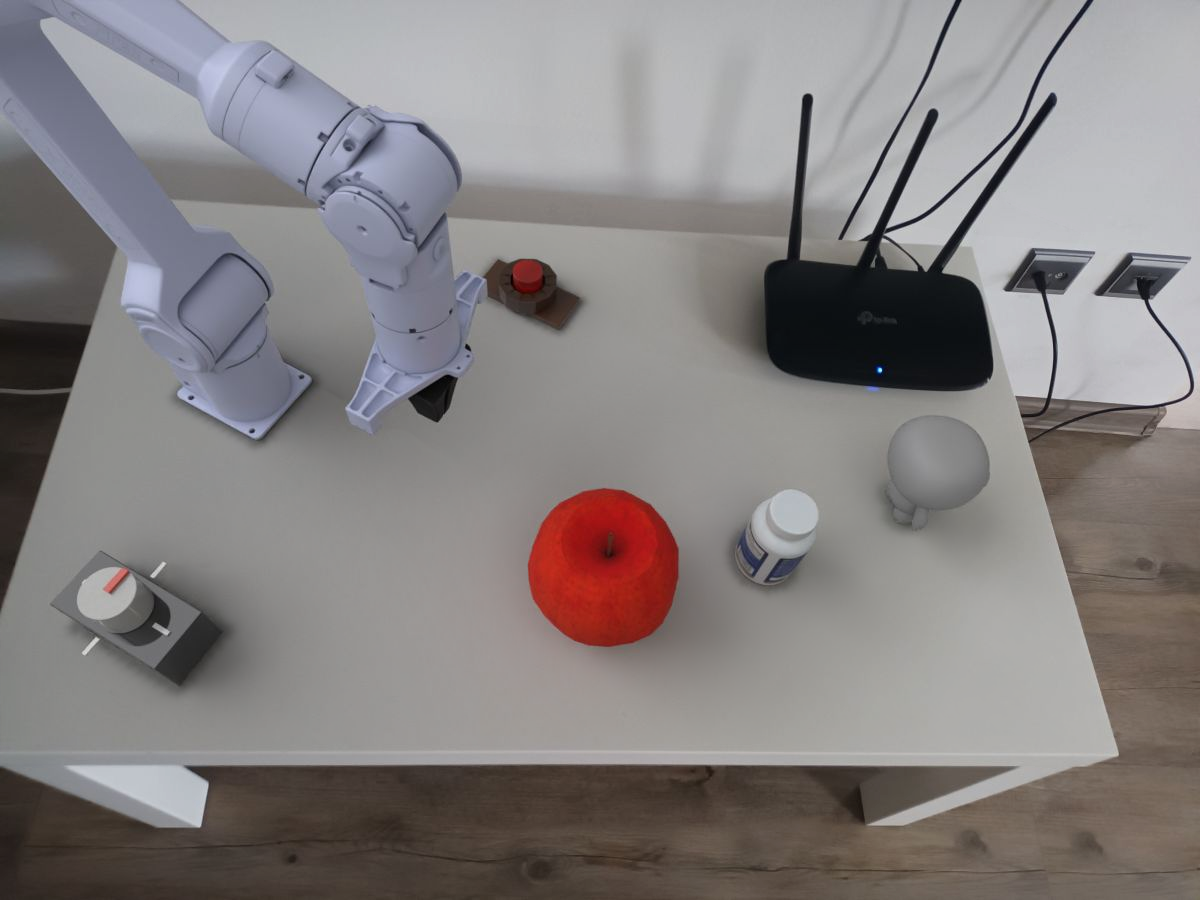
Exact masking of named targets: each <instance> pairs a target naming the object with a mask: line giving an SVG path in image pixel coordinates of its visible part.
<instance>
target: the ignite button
mask: <svg viewBox="0 0 1200 900" xmlns="http://www.w3.org/2000/svg"><path fill="white" fill-rule="evenodd" d="M542 282H543V270H542V267H541V266H540V265H539V264H538V263H537V262H535V261H532V260H523V261H520V262H518V263H517V264H516V265H515V266H514V268H513V285H514V287H515V288H516V289H517V290H518V291H519V292H521V293H525V294H531V293H535V292H537V291H538V290H539V289H540V288H541V287H542Z"/></svg>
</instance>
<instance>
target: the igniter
mask: <svg viewBox="0 0 1200 900" xmlns="http://www.w3.org/2000/svg"><path fill="white" fill-rule="evenodd" d="M523 260H532V261H535V262H537V263H538V264H539V265H540V266H541V267H542V270H543V282H542V287H541V288H540V289H539V290H538V291H537V292H535V293H531V294H525V293H521V292H519V291H518V290H517V289H516V288H515V287H514V285H513V268H514V266H515V265H516V264H517V263H518V262H520V261H523ZM557 277H558V275H557V274H556V273H555V271H554V270H553V268H552V267H551V266H550V264H548V263H546V262H543V261H541V260H539V259H537V258H518V259H515V260H513V261H511V262H508V263H507V262H506V261H504V260H501V259H499V258H498V259H497V260H496V261H495V262H494V264H492V265H491V266H490V268H489V269H488V271H487V272H486V273H485V274H484V275H483V277H482V278H484V279H486V280H487V294H488V296H487V298H488V297H489V298H490V299H493V300H495V301H497V302H499V303H501V304H503V305H504V306H505V307H506V308H507V309H509V310H511V311H514V312H515V313H517V314H523V315H526V316H528V317H530V318H532V319H535V320H536V321H539V322H540V323H542V324H544V325H547V326H549V327H551V328H552V329H555V330H556V331H559V330H561V328H562V326H564V324H565V322H566V321H567V320H568V318H569V317H570V315H571V314H572V313H573V312H574V310H575V309H576V307H577V306H578V305H579V303H580V300H581V297H580V296H577V295H576V294H573V293H571V292H569V291H567V290H565V289H563V288H561V287H558V279H557Z"/></svg>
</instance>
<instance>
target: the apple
mask: <svg viewBox="0 0 1200 900" xmlns="http://www.w3.org/2000/svg"><path fill="white" fill-rule="evenodd" d="M679 549H680V548H679V546H678V544H677V540H676V538H675V536H674V535H673V532H672V530H671V529H670V527H669V524H668V523H667V521H666V520H665V519H664V518H663V517H662V515H660V513H659V512H658V511H657V510H656V509H655V508H654V506H653V505H652V504H651V503H649V502H647V501H645V500H644V499H642V498H640V497H638V496H636V495H635V494H633V493H630V492H628V491H626V490H623V489H616V488H608V487H601V488H596V489H595V488H594V489H589V490H588V489H587V490H583V491H580V492H579V493H577V494H575V495H572V496H571V497H568V498H566V499H564V500H562V501H560V502H559V503H557V505H556V506H555V507H553V509H552V510H551V511H550V512H549V513H548V514H547V516H546V517H545V519H543V521H542V522H541V524H540V526H539V528H538V531H537V534H536V537H535V539H534V542H533V544H532V546H531V550H530V554H529V558H528V561H527V574H528V583H529V589H530V594H531V596H532V597H531V598H532V600H533V601H534V603H535V605H536V606H537V608H538V609H539V611H540V612H541V613H542V615H543V616H544V617H545V618H546V619H547V620H548V621H549V622H550V623H551V624H552V625H553V626H554V627H555V628H556V629H557V630H558V631H560V632H561V633H562V634H563V635H564V636H565V637H567V638H569V639H571V640H572V641H573V642H576V643H580V644H583V645H586V646H590V647H591V646H592V647H604V648H611V647H617V646H622V645H629V644H634V643H637V642H638V641H641V640H643V639H646V638H647V637H649V636H651V635H653V634H654V633H655V632H656V631H657V630H658V629H659V627H661V626H662V624H664V622H665V620H666V618H667V617H668V613H669V612H670V610H671V608H672V606H673V602H674V597H675V593H676V590H677V587H678V582H679V577H680V576H679V575H680V574H679V571H680V569H679V565H680V563H679V561H680V559H679V557H680V552H679V551H680V550H679Z"/></svg>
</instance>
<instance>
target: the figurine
mask: <svg viewBox="0 0 1200 900" xmlns="http://www.w3.org/2000/svg"><path fill="white" fill-rule="evenodd" d="M886 455H887V456H886V459H887V468H888V472H889V476H890V481H889V483H888V484H887V486H886V488H885V495H886V498H887V499H888V500H889V501H891V503H892V505H893V506H894V507H895V508H894V509H893V512H892V515H893V516H892V517H893V520H894V521H895V523H898V524H900V525H906V524H909V523H912V528H911V530H912V531H921V530H923V529H924V528H925V527H926V526H927V523H928V520H929V515H930V511H935V512H936V511H937V512H938V511H941V512H942V511H951V510H954V509H957V508H960V507H963V506H964V505H966V504H968V503H970V502H971V501H973V499H975V498H976V497H977V496H978V495H980V493H981V492H982V491H983V489H984V488H985V487H986V486H987V485H988V483H989V481H990V478H991V472H990V471H991V470H990V457H989V456H990V455H989V452H988V449H987V446H986V444H985V442H984V440H983V439H982V437H981V435H980V434H979V432H978V431H977V430H976V429H975V428H973V427H972V426H971V425H969V424H968V423H966V422H964V421H962V420H960V419H957V418H954V417H951V416H945V415H938V414H936V415H935V414H933V415H931V414H930V415H929V414H928V415H921V416H917V417H914V418H911V419H909V420H907V421H906V422H904V423H903V424H901V425H900V426H899V427H898V429H896V431H894V433H893V435H892V436H891V439H890V441H889V444H888V447H887V453H886Z"/></svg>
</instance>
